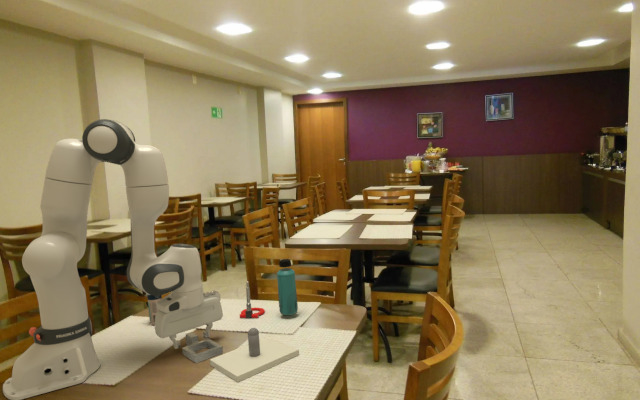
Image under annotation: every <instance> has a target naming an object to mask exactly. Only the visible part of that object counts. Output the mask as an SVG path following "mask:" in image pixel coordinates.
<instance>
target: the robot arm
mask: <svg viewBox="0 0 640 400" xmlns="http://www.w3.org/2000/svg"><path fill="white" fill-rule="evenodd" d="M48 159H49V160H48V163H47V167H46V171H45V174H44V176H45V177H44V180H43V181H44V182H43V188H42V193H41V194H42V195H41V200H40V207H39V209H40V211H41V218H42V219H41V221H42V230H41V236H39V237H36V238H35V239H33V240H32V241H31V242H30V243H29V244H28V246H27V247H26V248H25V251H24V252H23V254H22V258H21V263H22V267H23V270H24V271H25V272H26V273H27V274H28V275H29V278H30V280H31V283H32V286H33V288H34V291H35V294H36V298H37V302H38V309H39V315H40V316H39V317H40V323H41V324H40V326H39V327H38V328H37V327H36V326H32V327H30V328H29V330H28V334H29V335H30V336H31V337H33V341H34V343H32V344H31V345H30V346H29V347H28V348H27V349H26V350H25V351H24V352H23V353H22V354H21V355H20V356H19V357H18V358H16V360H14V363H13V367H12V371H11V377H9V378H8V379H6V380H5V381H4V383H3V384H2V393H3V395H4V396H5V398H7V399H8V400H24V399H29V398H32V397H35V396H39V395H41V394H46V393H49V392H50V393H51V392H53V391H54V392H55V391H57V390H60V389H64V388H67V387H71V386H75V385H79V384H81V383H83V382H85V381H86V380H87V379H88V378H89V376H91V375H92V374H94V373H95V372H96V371H97V370H99V368H100V367H101V361H100V360H99V358H98V356H97V353H96V350H95V346H94V342H93V338H92V336H93V326H92V321H91V320H92V319H91V317H90V316H89V313H88V302H87V296H86V295H87V294H86V288H85V287H84V286H83V284H82V281H81V278H80V275H79V271H78V263H79V262H80V261H81V259H82V258H83V257H84V255H85V254H86V253H85V252H86V250H87V237H88V235H87V234H88V232H87V231H88V213H89V212H88V211H89V205H90V199H91V193H92V187H93V181H94V175H95V171H96V168H97V167H98V165H99V164H100V163H110V164H114V165H118V166H120V167H121V168H122V170H123V173H124V180H125V182H124V184H125V191H126V193H125V194H126V200H127V205H128V211H129V212H128V213H129V219H130V240H131V241H130V244H131V255H130V259H129V262H128V265H127V268H126V278H127V281H128V282H129V283H130V285H131V286H133V288H135V289H137V290H138V289H139V290H140V291H142V292H144V293H146V294H147V293H148V294H150V295H153V296H160V295H161V296H164V295H165V296H164V297H162V299H161V300H159V301H158V302H157V303H156V307H157V308H158V309H159V310H158V311H157V313H156V315H155V325H154V332H155V335H156V336H157V337H158V338H159V339H160V338H161V339H166V338H169V339H170V340H171V342H172V343H173V344H172V345H173V348H174V349H175V350H177V349H179V348H182V345H181V341H180V340H176V339H177V335H178V334H180V333H181V334H182V333H184V332H187V331H191V330H193V329H197V328H199V327H202V326H205V328H204V329H205V330H204V331H202V337H203V338H204V340H205V339H210V337H211V330H212V328H213V323H216V322H217V321H220V320H222V318H223V316H224V313H223V308H222V303H221V293H220V292H219V291H216V290H212V291H211V290H210V291H207V292H204V286H203V282H202V277H201V276H202V263H201V262H202V261H201V257H200V253H199V250H198V248H197V247H196V246H194V245H192V244H188V243H187V244H186V243H175V244H172V245H170V247H169V248H168V249H167V250H166V251H165V252H164V253H162V254H160V255H159V256H157V254H156V252H155V251H156V250H155V225H156V223H157V222H156V221H157V220H158V218H159V217H160V216H161V215H163V214H164V213H165V212H166V210H167V209H168V207H169V199H170V190H169V189H170V187H169V178H168V177H169V176H168V171H167V166H166V163H165V158H164V155H163V153H162V151H161V150H160V149H159V148H158V147H156V146H153V145H150V144H139V143H137V142H136V138H135V134H134V133H133V131H132V130H131V129H130V128H129V127H128V126H127V125H125V124H124V123H122V122H120V121H118V120H114V119H107V118H106V119H105V118H102V119H97V120H94V121H92V122H90V123H89V124H88V125H87V126H86V127H85V128H84V130H83V132H82V137H81V139H80V138H64V139H61V140H59V141H57V142H56V143H55V145H54V146H53V149H52V151H51V154H50V156H49V158H48ZM166 294H167V295H166Z"/></svg>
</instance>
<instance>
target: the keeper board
mask: <svg viewBox="0 0 640 400" xmlns="http://www.w3.org/2000/svg"><path fill="white" fill-rule="evenodd" d="M247 343H248V344H247V345H244V346H241V347H239V348H236V349H233V350H231V351H228V352H226V353H225V352H224V353H222V354H219V355H217V356H214V357H211V358H209V364H210V366H211V367H212V368H215V369H216V370H218V371H219V372H221V373H222V374H224V375H225V376H227V377H229V378H230V379H232V380H233V381H235V382H236V383H239V382H241V381H244V380H246V379H248V378H250V377H253V376H255V375H257V374H259V373H262V372H264V371H266V370H268V369H270V368H272V367H275V366H277V365H280V364H282V363H284V362H287V361H289V360H291V359H294V358H296V357H297V356H298V357H299V356H300V349H298V348H296V347H294V346H291V345H289V344H287V343H285V342H283V341H281V340H278V339H276V338H274V337H271V336H267V337H263V338H261V339H260V332H259V330H258V329H257V328H256V327H251V328H249V330H248V332H247Z"/></svg>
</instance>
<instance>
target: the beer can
mask: <svg viewBox="0 0 640 400" xmlns="http://www.w3.org/2000/svg"><path fill="white" fill-rule="evenodd" d="M162 296H163V295H160V296H153V295H150V294H148V293H146V297H147V306H148V308H147V309H148V317H149V318H148V319H149V324H150V325H152V326H155V315H156V313H157V311H158V310H159V309H158V308H157V307H156V303H157V302H158V301H159V300H161V299H163V297H162Z"/></svg>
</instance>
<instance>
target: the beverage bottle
mask: <svg viewBox="0 0 640 400" xmlns="http://www.w3.org/2000/svg"><path fill="white" fill-rule="evenodd" d="M291 266H292V263H291V259H290V258H283V259H280V260H279V265H278V267H280V269H279V271H277V272H276V276H277V277H276V279H277V295H278V308H279V313H280V314H281V315H283V316H285V315H286V316H291V315H294V314H295V315H296V314H297V313H298V310H299V307H298V304H299V303H298V297H297V294H298V293H297V284H296V283H297V282H296V272H295V270H294V269H292V268H289V267H291Z"/></svg>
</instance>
